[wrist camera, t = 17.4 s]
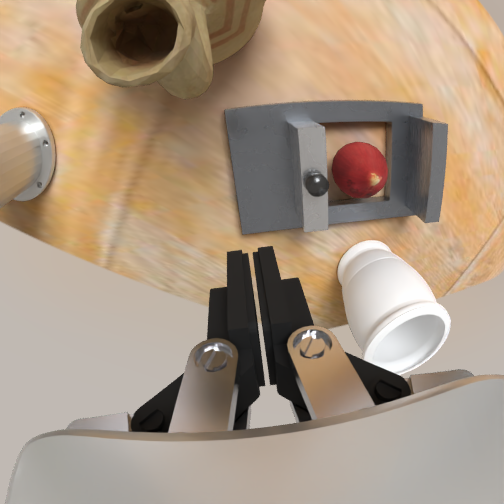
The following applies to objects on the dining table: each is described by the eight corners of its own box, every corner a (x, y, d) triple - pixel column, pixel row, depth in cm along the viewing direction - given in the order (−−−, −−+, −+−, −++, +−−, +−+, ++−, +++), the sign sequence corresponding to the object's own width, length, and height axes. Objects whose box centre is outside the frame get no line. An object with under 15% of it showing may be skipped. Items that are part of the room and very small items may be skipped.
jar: (323, 243, 37) (362, 328, 24) (397, 223, 36) (459, 293, 23) (334, 304, 43) (364, 388, 30) (398, 285, 41) (443, 359, 29)
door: (295, 211, 33) (306, 238, 28) (288, 122, 28) (300, 130, 23) (316, 209, 33) (331, 235, 28) (311, 120, 28) (328, 128, 23)
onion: (367, 186, 34) (397, 213, 27) (321, 184, 33) (343, 212, 26) (373, 139, 31) (407, 155, 24) (326, 134, 30) (351, 149, 23)
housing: (242, 228, 36) (243, 257, 30) (225, 109, 29) (221, 113, 23) (411, 210, 35) (436, 233, 30) (415, 102, 28) (447, 109, 23)
